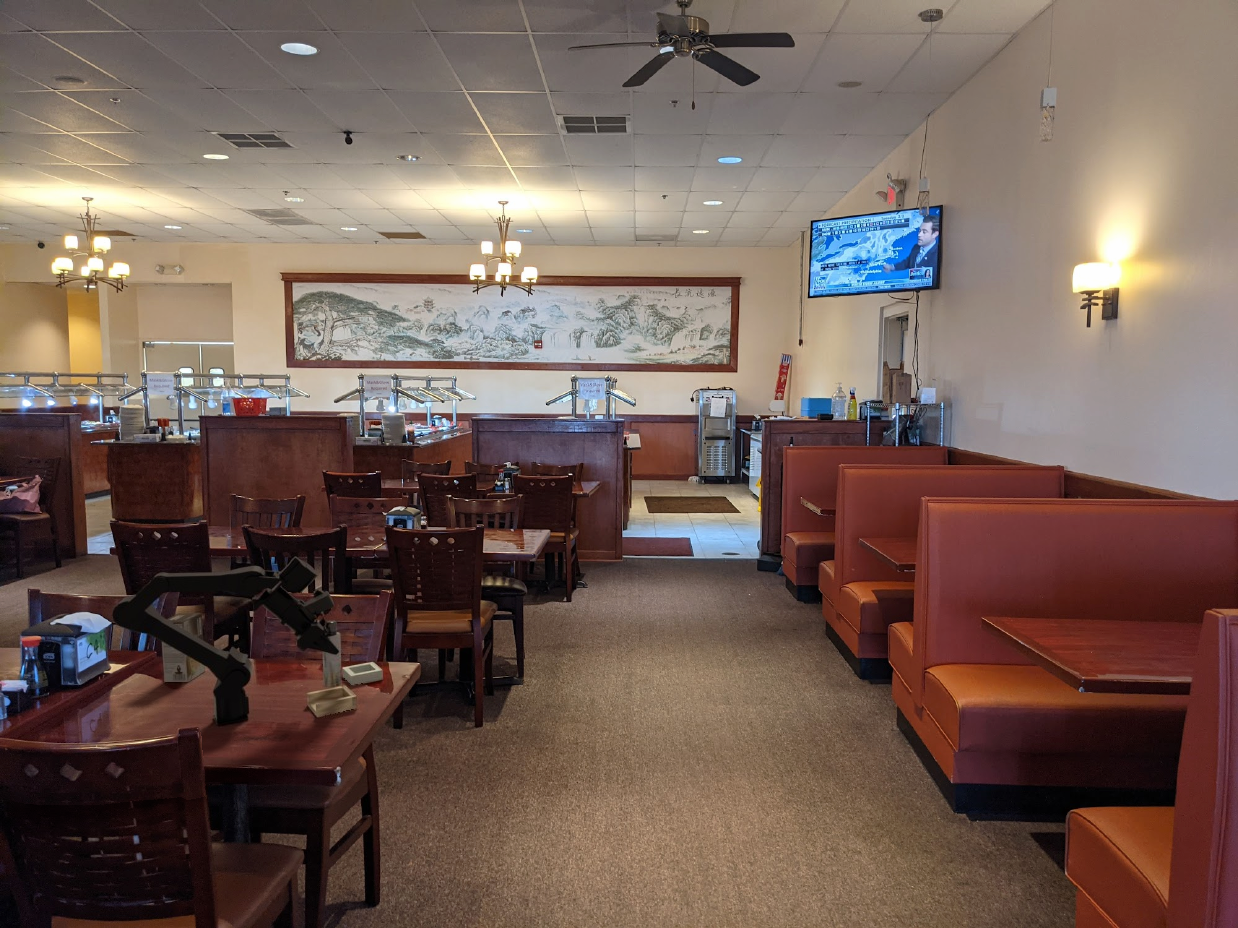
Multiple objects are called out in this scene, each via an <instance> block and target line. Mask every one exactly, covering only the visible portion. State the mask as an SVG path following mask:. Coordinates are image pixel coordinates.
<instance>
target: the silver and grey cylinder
mask: <svg viewBox="0 0 1238 928" xmlns="http://www.w3.org/2000/svg"><path fill="white" fill-rule="evenodd" d="M337 624H338V623H337V620H328V621H325V627H326V633H325V634H326V636H327V637H328V638H329V639H330V640H331V642H332V643H333V644H334V645H335V646H336V647H337V649H338V650H339V653H338V654H337V655H334V654H331V653H327V652H323V651H322V676H323V680H322V681H323V682H322V683H323V687H325V688H335V687H340V686H341V685H342V653H341V652H342V648H341V647H342V645H341V641H342V640H341V639H342V638H341V632H337V631H338V627H337Z"/></svg>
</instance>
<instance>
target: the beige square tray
mask: <svg viewBox="0 0 1238 928" xmlns="http://www.w3.org/2000/svg"><path fill="white" fill-rule="evenodd" d="M306 698H307V701H306V702H307V706H308V708H309V709H310V710H311V712H312V713H313V714H314V715H315V716H316V718H321V717H326V716H329V715H330V714H331V715H335V713H336V714H339V713H338V712H340V713H343V711H345V712H347V711H346V710H350V711H352V710H351V709H354V710H357V709H358V705H357V704H358V702H357V699H358V698H357V695H356V694H355V693H354V692H353V691H352V690H351V688H349V687H347V685H342V686H341V685H339V686H337V687H329V688H326V689H321V690H315V691H311V692H307V693H306ZM325 715H326V716H325Z"/></svg>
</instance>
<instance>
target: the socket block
mask: <svg viewBox="0 0 1238 928" xmlns="http://www.w3.org/2000/svg"><path fill="white" fill-rule="evenodd" d="M341 674H342V678H343V679H344V678H345V679H344V680H345V681H346V680H347V681H348V682H349V683H350V684H351V685H353V686H355V685H354V684H358V685H362V684H361V683H363V684H367V683H372V682H377V681H378V682H379V681H382V680H384V675H383V674H384V672H383V669H382V668H381V667H380V666H378V665H377V664H376V663H375V662H373V661H371V662H366V663H365V662H364V663H359V664H355V665H350V666H345V667H343V666H342V667H341ZM347 681H346V682H347ZM348 682H347V683H348ZM349 683H348V684H349ZM350 684H349V685H350ZM351 685H350V686H351Z"/></svg>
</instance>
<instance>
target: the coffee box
mask: <svg viewBox="0 0 1238 928" xmlns="http://www.w3.org/2000/svg"><path fill="white" fill-rule="evenodd" d="M166 619H167V620H168V621H170V622H172V623H174V624H175V625H177V626H179V627H181V628H182V629H184V630H186V631H188V632H189V633H191V634H193V635H194V636H196V637H198V638H200V639H201V640H203V641H205V640H204V630H203V629H204V627H203V626H204V625H203V612H183V613H181V612H179V613H177V614H175V615H173V616H171V617H168V618H166ZM161 651H162V662H163V663H162V664H163V680H164V683H165V682H188V683H190V682H191V681H193V680H194V679H195V678H198V676H200V675H202V674H203V673H204V672H206V666H204V665H202V664H201V663H199V662H197V661H195V660H194V659H192V658H190V657H188V656H187V655H185V654H183V653H181V652H179V651H178V650H176V649H174V648H172V647H171V646H169V645H167V644H165V643H164V642H162V641H161Z"/></svg>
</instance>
